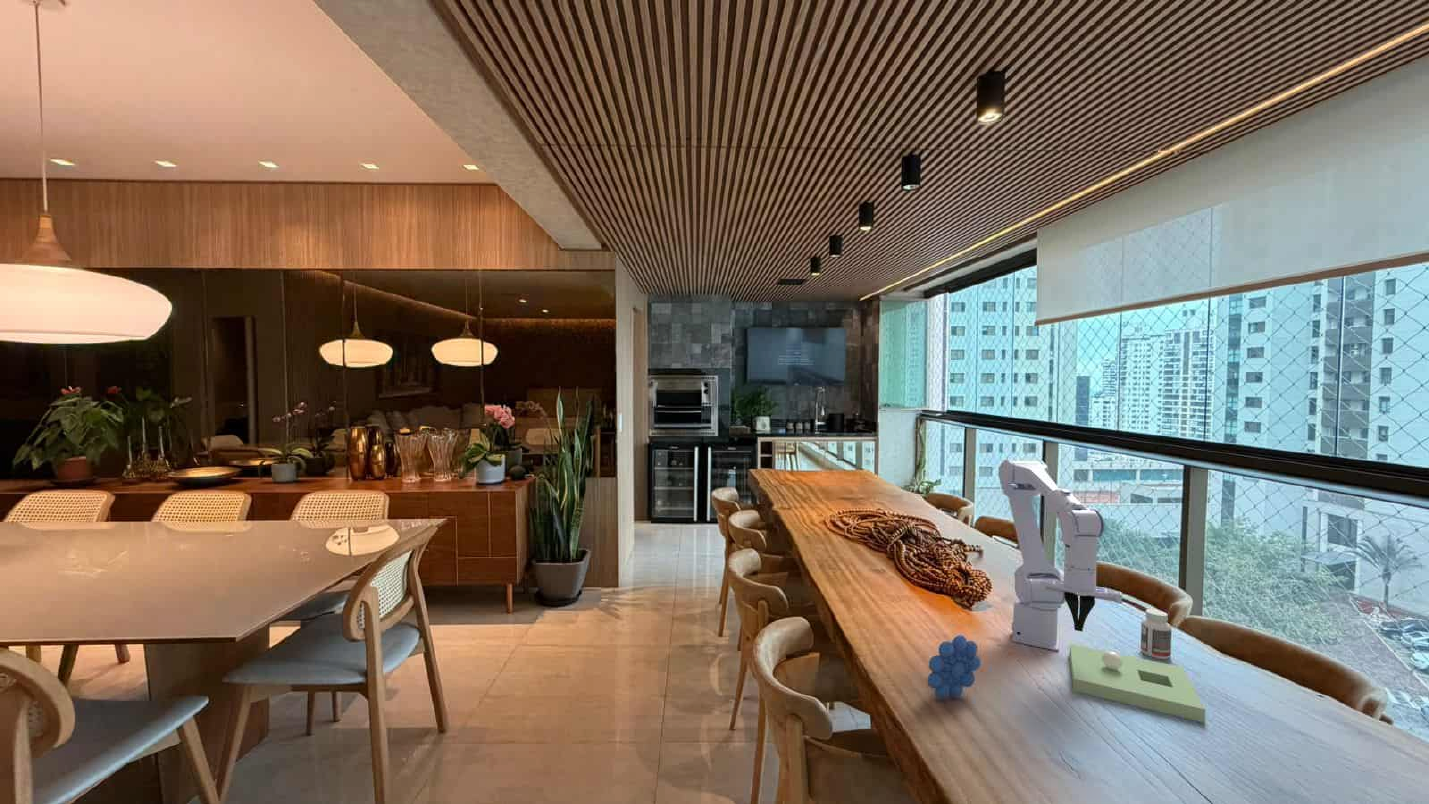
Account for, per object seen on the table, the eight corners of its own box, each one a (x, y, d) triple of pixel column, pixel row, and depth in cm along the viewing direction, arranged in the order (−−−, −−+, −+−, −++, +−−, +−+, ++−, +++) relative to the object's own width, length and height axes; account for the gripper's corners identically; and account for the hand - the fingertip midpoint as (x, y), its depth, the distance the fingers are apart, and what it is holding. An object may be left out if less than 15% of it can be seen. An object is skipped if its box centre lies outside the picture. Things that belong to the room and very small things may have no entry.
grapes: (963, 682, 112) (964, 624, 112) (987, 700, 106) (989, 639, 106) (913, 689, 109) (915, 630, 109) (936, 708, 103) (937, 645, 103)
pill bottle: (1174, 656, 125) (1175, 613, 125) (1165, 662, 122) (1166, 619, 122) (1145, 646, 130) (1147, 606, 130) (1136, 652, 127) (1137, 610, 127)
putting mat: (1073, 690, 110) (1073, 678, 110) (1069, 654, 125) (1069, 643, 125) (1204, 723, 100) (1205, 709, 100) (1182, 679, 115) (1183, 667, 115)
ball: (1102, 670, 113) (1102, 653, 113) (1100, 663, 116) (1101, 646, 116) (1123, 674, 112) (1123, 657, 111) (1121, 667, 115) (1121, 651, 114)
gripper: (1040, 565, 117) (1038, 628, 117) (1124, 577, 109) (1122, 645, 110) (1040, 556, 123) (1038, 616, 123) (1120, 568, 115) (1118, 632, 116)
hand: (1078, 629), depth 117 cm, fingers closed
